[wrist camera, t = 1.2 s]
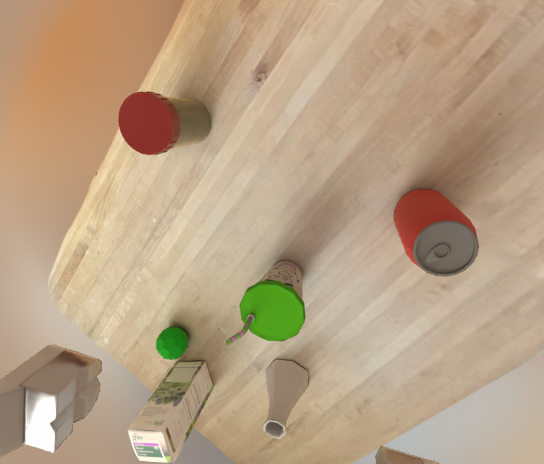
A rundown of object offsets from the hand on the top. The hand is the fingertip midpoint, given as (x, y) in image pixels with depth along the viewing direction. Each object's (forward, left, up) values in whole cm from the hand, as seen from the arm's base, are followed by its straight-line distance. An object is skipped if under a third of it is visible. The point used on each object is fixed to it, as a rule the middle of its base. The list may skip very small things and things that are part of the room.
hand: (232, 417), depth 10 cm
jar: (+7, -18, -37) cm, 42 cm away
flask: (+26, +19, -37) cm, 50 cm away
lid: (+7, -18, -26) cm, 33 cm away
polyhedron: (+35, +2, -37) cm, 51 cm away
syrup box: (+39, +9, -37) cm, 55 cm away
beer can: (-6, +11, -37) cm, 39 cm away
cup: (+13, +6, -37) cm, 40 cm away
